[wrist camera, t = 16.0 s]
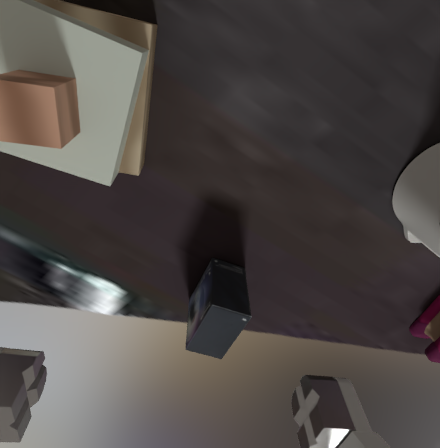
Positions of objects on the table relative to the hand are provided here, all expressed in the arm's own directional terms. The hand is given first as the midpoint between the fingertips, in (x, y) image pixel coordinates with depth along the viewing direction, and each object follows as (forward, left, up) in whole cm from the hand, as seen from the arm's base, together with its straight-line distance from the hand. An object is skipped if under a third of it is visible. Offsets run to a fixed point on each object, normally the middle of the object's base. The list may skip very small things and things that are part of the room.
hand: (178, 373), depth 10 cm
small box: (-8, +27, -34) cm, 44 cm away
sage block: (+14, 0, -30) cm, 33 cm away
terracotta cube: (+14, 0, -26) cm, 30 cm away
